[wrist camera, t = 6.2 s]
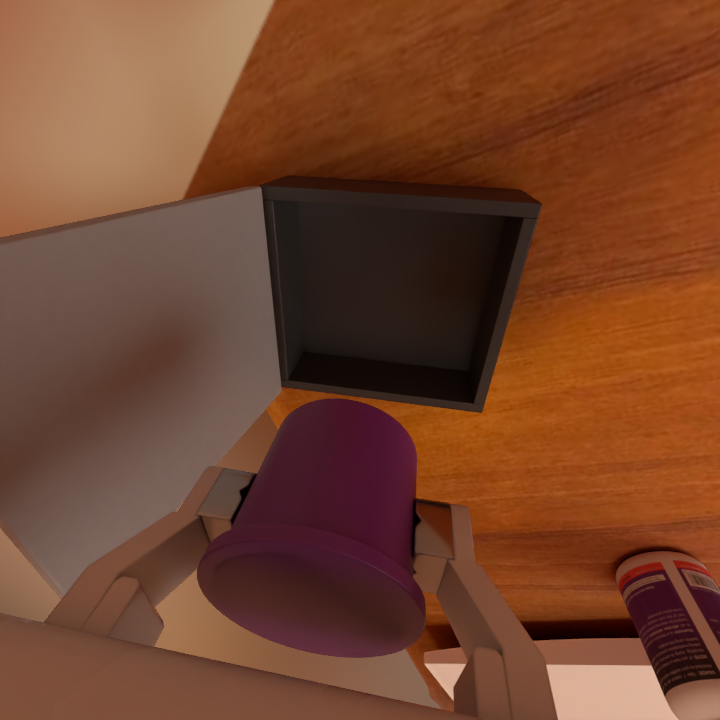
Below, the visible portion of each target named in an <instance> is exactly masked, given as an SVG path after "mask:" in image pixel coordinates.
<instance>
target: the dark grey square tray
mask: <svg viewBox="0 0 720 720" xmlns="http://www.w3.org/2000/svg"><path fill="white" fill-rule="evenodd" d="M259 187H261V190H262V200H263V210H264V220H265V230H266V239H267V249H268V259H269V269H270V279H271V289H272V299H273V309H274V319H275V329H276V339H277V349H278V359H279V369H280V378H281V387H286V388H294V389H302V390H309V391H317V392H325V393H332V394H340V395H348V396H356V397H363V398H371V399H379V400H386V401H394V402H402V403H410V404H417V405H425V406H433V407H440V408H448V409H456V410H464V411H471V412H479V413H482V411H483V407H484V403H485V400H486V397H487V393H488V390H489V386H490V383H491V379H492V376H493V372H494V369H495V365H496V362H497V358H498V355H499V351H500V348H501V345H502V341H503V338H504V334H505V331H506V327H507V324H508V320H509V317H510V313H511V310H512V306H513V303H514V299H515V296H516V293H517V289H518V286H519V282H520V279H521V275H522V272H523V268H524V265H525V261H526V258H527V254H528V251H529V248H530V244H531V241H532V237H533V234H534V230H535V227H536V223H537V220H538V219H537V218H538V217H539V213H540V210H541V206H542V203H540V202H539V201H537V200H536V199H534V198H533V197H531V196H530V195H528V194H527V193H525V192H523V191H522V190H515V189H499V188H483V187H466V186H450V185H434V184H418V183H402V182H385V181H369V180H353V179H337V178H321V177H304V176H286V177H282V178H279V179H276V180H273V181H270V182H267V183H264V184H262V185H260V186H259Z"/></svg>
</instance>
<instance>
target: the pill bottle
mask: <svg viewBox="0 0 720 720" xmlns="http://www.w3.org/2000/svg"><path fill="white" fill-rule="evenodd" d="M616 582H617V585H618V587H619V590H620V593H621V595H622V597H623V599H624V602H625V604H626V606H627V609H628V611H629V614H630V616H631V618H632V621H633V623H634V625H635V628H636V630H637V632H638V635H639V637H640V639H641V642H642V644H643V646H644V649H645V651H646V654H647V656H648V658H649V661H650V663H651V665H652V668H653V670H654V672H655V675H656V677H657V680H658V682H659V684H660V687H661V689H662V692H663V694H664V696H665V699H666V701H667V703H668V705H669V707H670V709H671V711H672V712H673V713H674V715H675V716H676V717H677V718H678V719H679V720H720V589H719V587H718V586H717V584H716V583H715V581H714V579H713V578H712V576H711V575H710V573H709V572H708V570H707V569H706V568H705V566H704V565H703V564H701V563H700V562H699V561H697V560H696V559H694V558H692V557H690V556H688V555H685V554H682V553H678V552H671V551H655V552H647V553H642V554H639V555H636V556H633V557H631V558H629V559H627V560H625V561H624V562H623V563H622V564H621V565H620V566H619V567H618V569H617V572H616Z"/></svg>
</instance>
